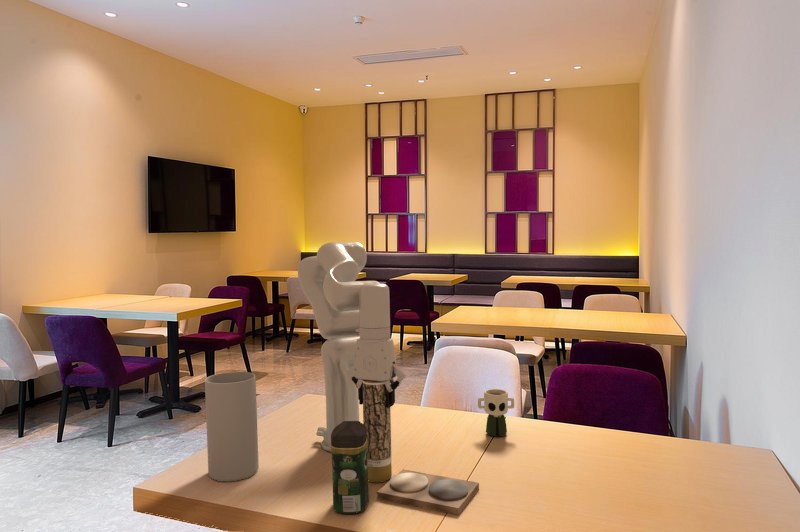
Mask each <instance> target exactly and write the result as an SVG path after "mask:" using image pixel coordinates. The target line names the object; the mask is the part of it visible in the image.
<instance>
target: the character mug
mask: <svg viewBox="0 0 800 532" xmlns="http://www.w3.org/2000/svg"><path fill="white" fill-rule="evenodd" d="M509 401H510V405H509ZM482 402H483V404H482ZM477 408H478V409H483V411H484V412H485V413H486V414H488V415H487V418H486V426H485V432H486V434H487V435H489V436H493V437H496V436H497V434H498V436H499V437H503V436H506V435H507V433H508V429H507V423H506V422H507V420H506V416H505V415H506V414H507V413H508V411H509V410H510V409H514V408H515V398H514V397H509V392H508V391H507V390H504V389H500V388H499V389H498V388H490V389H486V390H484V392H483V397H478V398H477Z"/></svg>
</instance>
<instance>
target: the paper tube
mask: <svg viewBox="0 0 800 532" xmlns="http://www.w3.org/2000/svg"><path fill="white" fill-rule="evenodd" d="M362 384H363V404H362V414H363V415H362V417H363V423H362V424H364V425H365V427H366V430H367V459H368V482H371V483H378V484H380V483H385V482H388V481H390V480H391V478H392V477H393V476H392V475H393V472H392V422H391V421H392V420H391V419H392V418H391V416H392V415H391V407H390V408H387V407H386V392H387V388H386V385H385V383H384V382H379V381H369V380H363V382H362Z"/></svg>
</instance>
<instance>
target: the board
mask: <svg viewBox="0 0 800 532" xmlns="http://www.w3.org/2000/svg"><path fill="white" fill-rule="evenodd" d="M479 490H480V482H476V481H472V480H471V481H470V480H466V479H461V478H460V479H459V478H454V477H449V476H443V475H438V474H432V473H426V472H420V471H414V470H410V469H404V468H403V469H402V470H400V471H399V472H398V473H397V474H395V475H393V476H391V478H390V479H389V480H388V481H387V482H386V484H384V485H383V486H382V487H381V488H380V489H378V490H377V491H376V498H377V499H379V500H384V501H388V502H394V503H398V504H404V505H407V506H413V507H418V508H421V509H428V510H431V511H432V510H433V511H437V512H443V513H447V514H452V515H456V516H459V515H460V514H461V512H463V510H464V509H465V508H466V506H467V505H468V504H469V502H470V501H471V500H472V498H473V497H474V496H475V495H476V494H477V492H478V491H479Z"/></svg>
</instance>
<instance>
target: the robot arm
mask: <svg viewBox="0 0 800 532" xmlns="http://www.w3.org/2000/svg"><path fill="white" fill-rule="evenodd" d="M367 258H368V257H367V251H366V248H365V247H364V246H363V244H361V242H358V241H331V242H326V243H324V244H322V245H321V246H320V247H319V248H318V250H317V252H316V255H313V256H308V257H304V258H303V259H302V260H301V261H300V262H299V263H298V265H297V276H298V277H297V278H298V282H299V286H300V288H301V290H302V292H303V294H304V296H305V298H307V301H308V302H309V304H310V306H311V308H312V313H313V315H314V318H315V322H316V326H317V329H318V331H319V334H320V335H321V337H322V338H323V339H325V340H326V341H324V342H323V344H322V345H321V349H320V356H321V362H322V366H323V373H324V384H325V386H324V387H325V415H326V417H325V418H326V422H325V423H326V424H325V425H326V427H323V426H318V427H317V430H316V433H315V434H316V436H317V437H323V440H322V441H321V448H322V449H323V450H324V451H327V452H329V453H332V452H331V433H332V431H333V429H334V428H335V427H336V426H337V425H339V424H340V423H342V422H343V421H360V405H362V406H363V384H362V382H363V380H369V381H379V382H384V383H385V385H386V388H387V392H386V407H387V408H390V409H391V408H392V407H393V406H394V405H395V403H396V392H395V391H396V389H397V388H398V387H399V386H400V385H401V384H402V383H403V381H404V380H405V379H406V378H407V375H406V374H405V373H404V372H403V371H402V369H400V368H399V366H397V356H396V355H397V353H396V348H395V344H394V339H393V338H391V314H390V313H391V311H390V310H391V309H390V306H391V305H390V304H391V303H390V302H391V301H390V287H389V286H388V285H387V284H385V283H381V282H379V281H377V280H357V279H358V277H359V274H360V272H361V271H362V270H363V269H364V268H365V266H366V264H367V262H368V261H367V260H368V259H367ZM396 377H397V378H396ZM394 378H396V379H395V380H394Z"/></svg>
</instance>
